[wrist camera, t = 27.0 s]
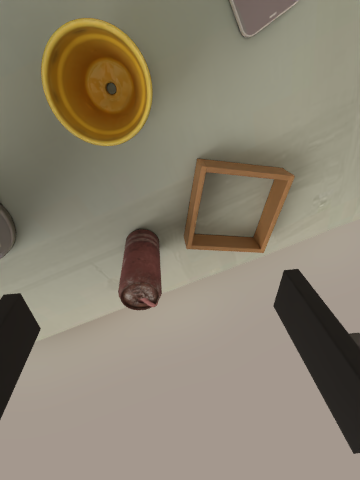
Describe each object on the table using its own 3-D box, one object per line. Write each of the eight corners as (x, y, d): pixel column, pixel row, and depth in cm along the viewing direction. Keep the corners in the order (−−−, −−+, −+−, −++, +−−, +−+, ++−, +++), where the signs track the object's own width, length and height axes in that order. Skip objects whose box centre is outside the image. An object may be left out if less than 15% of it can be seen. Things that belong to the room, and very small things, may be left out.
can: (149, 259, 47) (148, 317, 36) (120, 245, 45) (109, 303, 33) (166, 237, 45) (171, 292, 33) (136, 222, 42) (131, 275, 31)
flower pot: (162, 118, 33) (165, 130, 25) (93, 140, 34) (75, 158, 26) (135, 22, 28) (128, -2, 19) (52, 51, 28) (13, 39, 20)
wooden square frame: (183, 236, 45) (186, 249, 42) (197, 158, 37) (201, 166, 34) (255, 240, 47) (263, 252, 44) (282, 168, 39) (295, 176, 36)
